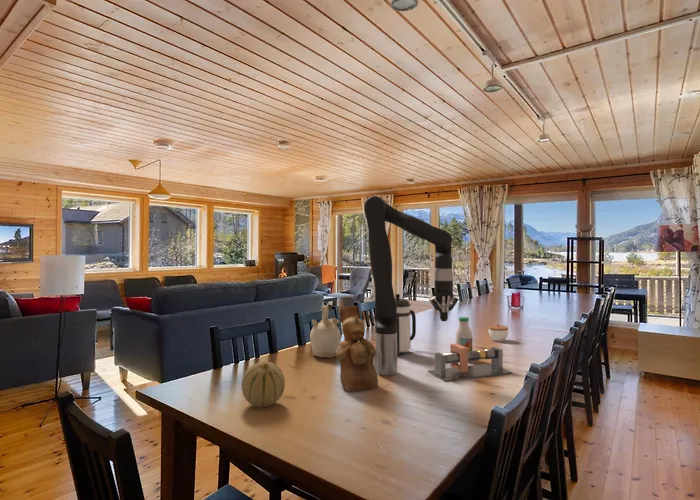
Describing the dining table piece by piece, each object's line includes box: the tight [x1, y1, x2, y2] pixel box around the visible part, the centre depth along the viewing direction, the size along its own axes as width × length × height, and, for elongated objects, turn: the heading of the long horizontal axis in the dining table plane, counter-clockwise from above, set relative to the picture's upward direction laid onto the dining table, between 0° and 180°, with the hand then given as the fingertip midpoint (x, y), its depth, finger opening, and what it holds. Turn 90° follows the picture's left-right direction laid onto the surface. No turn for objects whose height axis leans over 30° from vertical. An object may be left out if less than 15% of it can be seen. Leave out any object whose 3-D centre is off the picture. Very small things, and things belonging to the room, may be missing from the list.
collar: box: [449, 343, 469, 372], centre depth 175 cm, size 3×8×10 cm, turn 18°
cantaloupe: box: [241, 361, 286, 408], centre depth 142 cm, size 15×15×15 cm
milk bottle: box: [455, 316, 473, 351], centre depth 197 cm, size 8×8×20 cm
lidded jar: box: [488, 323, 509, 343], centre depth 237 cm, size 11×11×9 cm
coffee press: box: [395, 293, 417, 357], centre depth 212 cm, size 17×16×30 cm
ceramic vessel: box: [335, 305, 379, 392], centre depth 164 cm, size 16×22×30 cm
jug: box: [309, 304, 341, 358], centre depth 208 cm, size 15×16×25 cm
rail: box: [427, 346, 513, 383], centre depth 176 cm, size 32×14×9 cm, turn 108°
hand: (443, 320), depth 172 cm, fingers closed
